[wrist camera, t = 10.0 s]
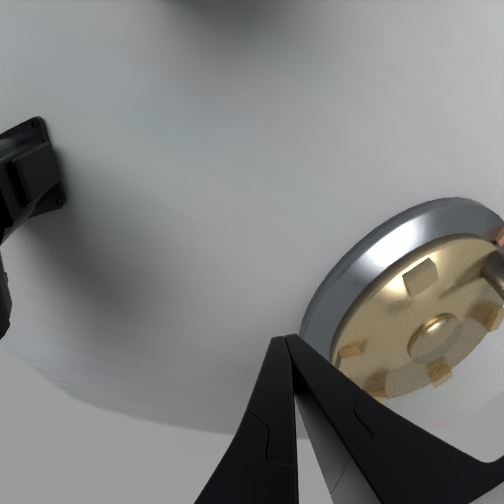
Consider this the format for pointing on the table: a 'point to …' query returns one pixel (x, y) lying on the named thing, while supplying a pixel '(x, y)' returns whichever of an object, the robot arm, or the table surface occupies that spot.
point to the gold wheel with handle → (421, 316)
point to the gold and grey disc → (391, 258)
